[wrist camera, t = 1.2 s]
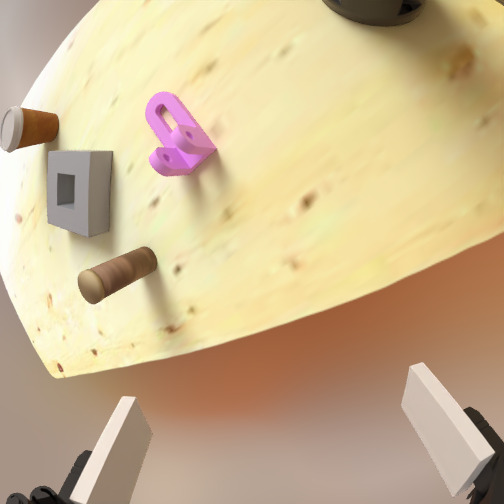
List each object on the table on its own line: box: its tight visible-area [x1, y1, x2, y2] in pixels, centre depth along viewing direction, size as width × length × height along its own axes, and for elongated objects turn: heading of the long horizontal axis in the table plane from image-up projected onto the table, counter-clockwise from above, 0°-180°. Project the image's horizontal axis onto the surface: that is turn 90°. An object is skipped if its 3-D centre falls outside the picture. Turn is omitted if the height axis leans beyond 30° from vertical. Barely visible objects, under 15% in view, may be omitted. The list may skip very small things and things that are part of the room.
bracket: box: [145, 92, 217, 176], centre depth 34 cm, size 13×6×7 cm, turn 37°
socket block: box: [47, 150, 113, 238], centre depth 44 cm, size 14×14×5 cm
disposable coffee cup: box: [0, 105, 59, 153], centre depth 41 cm, size 10×10×12 cm
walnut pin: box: [78, 247, 157, 304], centre depth 39 cm, size 5×5×13 cm
